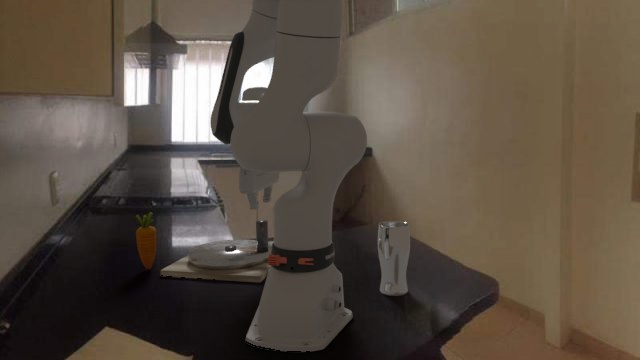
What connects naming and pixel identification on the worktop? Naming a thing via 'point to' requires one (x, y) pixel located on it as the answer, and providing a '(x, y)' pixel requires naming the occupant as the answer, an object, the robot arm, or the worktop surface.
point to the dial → (233, 252)
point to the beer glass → (393, 256)
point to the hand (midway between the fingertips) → (260, 205)
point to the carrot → (146, 241)
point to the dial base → (217, 272)
